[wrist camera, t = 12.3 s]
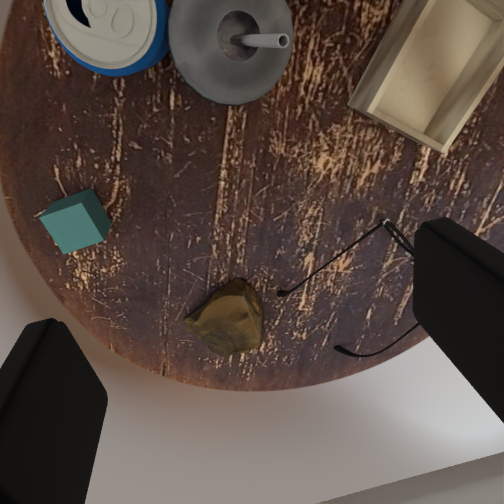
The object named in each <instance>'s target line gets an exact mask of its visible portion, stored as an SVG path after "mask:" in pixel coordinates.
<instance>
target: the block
mask: <svg viewBox="0 0 504 504" xmlns="http://www.w3.org/2000/svg"><path fill="white" fill-rule="evenodd" d="M39 218H40V220H41V221H42V223H43V224H44V226H45V227H46V229H47V230H48V232H49V233H50V235H51V236H52V238H53V239H54V240H55V242H56V243H57V245H58V246H59V248H60V249H61V251H62V252H63V254H67V253H70V252H73V251H75V250H78V249H81V248H84V247H87V246H90V245H93V244H95V243H98V242H101V241H104V239H105V237H106V235H107V233H108V230H109V228H110V226H111V224H112V222H111V221H110V219H109V217H108V215H107V214H106V212H105V210H104V208H103V207H102V205H101V203H100V201H99V200H98V198H97V196H96V194H95V192H94V191H93V189H92V188H91V189H88V190H85V191H82V192H79V193H76V194H74V195H71V196H68V197H65V198H62V199H60V200H57V201H54V202H53V203H52V204H51V205H50V206H49V207H48V209H47V210H46V211H45V212H44V213H43V214H42V215H41V216H40V217H39Z"/></svg>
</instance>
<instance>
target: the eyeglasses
mask: <svg viewBox="0 0 504 504" xmlns="http://www.w3.org/2000/svg"><path fill="white" fill-rule="evenodd" d="M380 222H381V223H380V224H378V225H377V226H376V227H374V228H373V229H372V230H370V231H369V232H368V233H366V234H365V235H364V236H362V237H361V238H360V239H358V240H357V241H356V242H354V243H353V244H352V245H350V246H349V247H348V248H346V249H345V250H344V251H342V252H341V253H340V254H338V255H337V256H336V257H334V258H333V259H332V260H330V261H329V262H328V263H326V264H325V265H324V266H322V267H321V268H320V269H318V270H317V271H316V272H314V273H313V274H312V275H310V276H309V277H308V278H307V279H305V280H304V281H303V282H301V283H300V284H299V285H297V286H296V287H295V288H293V289H292V290H290V291H284V290H280V291H279V293H278V297H284V296H287V295H289V294H290V293H292V292H293V291H294V290H295V289H297V288H298V287H299V286H301V285H302V284H303V283H304V282H306V281H307V280H308V279H309V278H311V277H312V276H313V275H315V274H316V273H317V272H319V271H320V270H321V269H323V268H324V267H325V266H327V265H328V264H329V263H331V262H332V261H334V260H335V259H336V258H338V257H339V256H340V255H342V254H343V253H345V252H346V251H347V250H349V249H350V248H352V247H353V246H354V245H356V244H357V243H359V242H360V241H361V240H363V239H364V238H365V237H367V236H368V235H370V234H371V233H372V232H374V231H375V230H377V229H378V228H379V227H381V226H382V225H383V226H384V227H385V228H386V229H387V231H388V232H389V233H390V234H391V236H392V237H393V238H394V239H395V240H396V241H397V242H398V244H399V245H400V246H402V247H403V248H404V249H405V250H406V252H405V254H406V255H408V254H410V256H413V257H414V248H413V247H412V245H411V244H410V243H409V241H408V240H407V239H406V238H405V237H404V235H403V234H402V233H401V232H400V231H399V230H398V229H397V228H396V227H395V226H394V225H393V224H392V223H391V222H390V220H389V219H386V220H383V219H382V220H381V221H380ZM386 224H387V225H388V226H390V227H391V228H392V229H393V230H394V231H395V232H396V233H397V234H398V235H399V236H400V237H401V238H402V239H403V241H404V242H405V243H406V244H407V245H408V247H409V248H410V249H411V251H412V252H411V251H410V250H409V249H408V248H407V247H406V246H404V245H403V244H402V243H401V242H400V241H399V240H398V238H397V237H396V236H395V235H394V234H393V232H392V231H391V230H390V229H389V228H388V226H387V225H386ZM410 256H409V255H408V257H410ZM411 263H412V264H413V265H414V260H413V261H411ZM418 325H420V324H419V323H417V324H416V325H415V326H413V327H412V328H411V329H410V330H409V331H407V332H406V333H405V334H404V335H402V336H401V337H400V338H399V339H397V340H396V341H395V342H393V343H392V344H391V345H389V346H388V347H386V348H385V349H383V350H381V351H379V352H377V353H373V354H369V355H358V354H354V353H352V352H350V351H348V350H346V349H344V348H343V347H341V346H337V347H334V349H335V350H337V351H339V352H341V353H343V354H345V355H348V356H352V357H369V356H373V355H376V354H379V353H381V352H383V351H385V350H386V349H388V348H389V347H391V346H392V345H394V344H395V343H396V342H398V341H399V340H400V339H402V338H403V337H404V336H406V335H407V334H408V333H409V332H411V331H412V330H413V329H415V328H416V327H417V326H418Z"/></svg>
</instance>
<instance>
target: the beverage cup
mask: <svg viewBox="0 0 504 504" xmlns="http://www.w3.org/2000/svg"><path fill="white" fill-rule="evenodd" d="M293 34H294V33H293V26H292V20H291V13H290V10H289V8H288V5H287V3H286V1H285V0H173V1H172V5H171V8H170V12H169V16H168V19H167V36H168V47H169V50H170V54H171V57H172V60H173V63H174V66H175V68H176V69H177V71H178V73H179V74H180V76H181V77H182V79H183V80H184V82H185V84H186V85H187V86H189V87H190V88H191V89H192V90H193V91H194V92H196V93H197V94H198V95H199V96H200V97H201V98H204V99H206V100H208V101H211V102H213V103H215V104H218V105H228V106H239V105H243V104H247V103H250V102H254V101H256V100H257V99H259V98H260V97H262V96H263V95H265V94H266V93H268V92H269V91H270V90H271V89H272V88H273V86H274V85H275V84H276V83H277V81H278V80H279V79H280V78H281V76H282V75H283V73H284V71H285V68H286V66H287V64H288V61H289V59H290V56H291V51H292V43H293Z"/></svg>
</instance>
